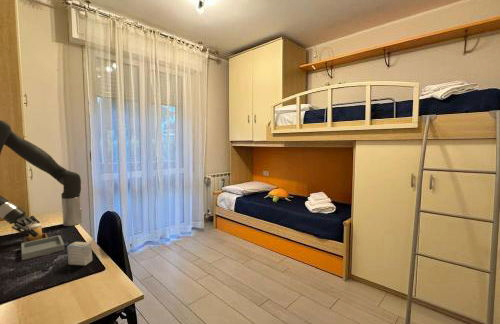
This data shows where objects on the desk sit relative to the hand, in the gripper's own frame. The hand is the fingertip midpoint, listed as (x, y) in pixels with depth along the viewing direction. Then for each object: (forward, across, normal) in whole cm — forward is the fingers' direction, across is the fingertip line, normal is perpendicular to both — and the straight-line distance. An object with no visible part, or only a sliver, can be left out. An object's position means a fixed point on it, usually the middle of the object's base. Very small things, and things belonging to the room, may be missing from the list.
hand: (39, 233), depth 126 cm
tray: (+8, -11, -2) cm, 14 cm away
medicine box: (+24, -29, -18) cm, 42 cm away
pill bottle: (+2, 0, +4) cm, 5 cm away
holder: (+2, 0, +4) cm, 5 cm away
